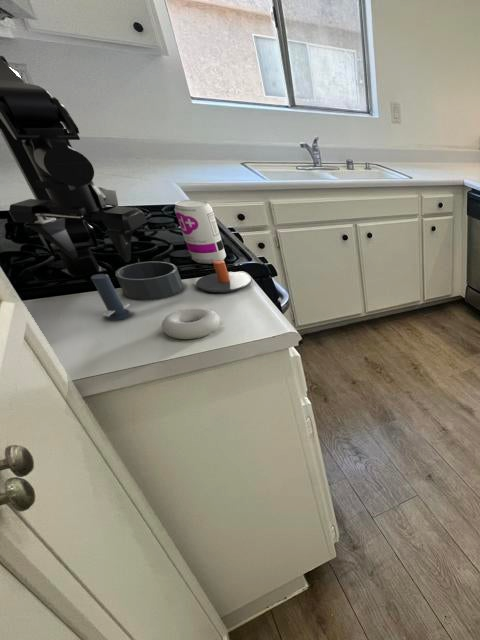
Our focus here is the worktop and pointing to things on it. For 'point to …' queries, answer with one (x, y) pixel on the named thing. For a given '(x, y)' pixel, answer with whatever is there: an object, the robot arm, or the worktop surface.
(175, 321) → the donut
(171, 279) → the bowl
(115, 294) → the food processor blade
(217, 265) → the bowl lid
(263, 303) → the worktop surface
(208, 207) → the supplement can
